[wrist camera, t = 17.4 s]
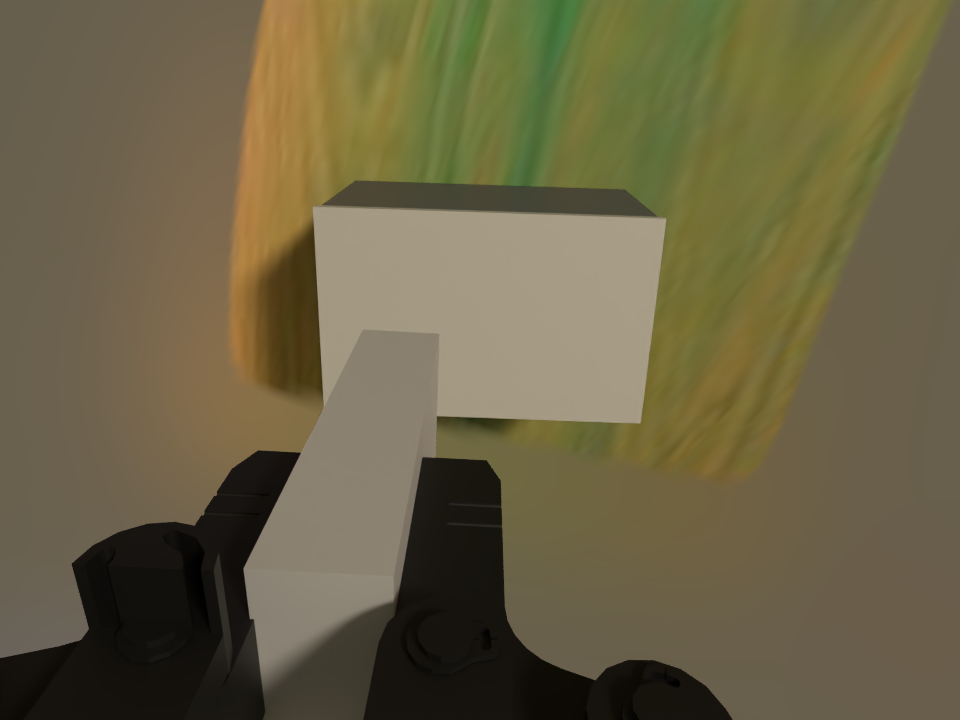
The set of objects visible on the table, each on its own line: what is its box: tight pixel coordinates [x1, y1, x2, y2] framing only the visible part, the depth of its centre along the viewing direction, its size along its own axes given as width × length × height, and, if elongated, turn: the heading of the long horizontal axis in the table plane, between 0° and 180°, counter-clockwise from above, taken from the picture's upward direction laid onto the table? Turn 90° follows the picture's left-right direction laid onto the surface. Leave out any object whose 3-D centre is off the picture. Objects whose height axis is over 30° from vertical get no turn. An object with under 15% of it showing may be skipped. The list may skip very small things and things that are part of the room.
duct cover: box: [313, 205, 666, 423], centre depth 31 cm, size 16×10×1 cm, turn 88°
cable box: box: [323, 181, 657, 217], centre depth 36 cm, size 16×10×8 cm, turn 88°
